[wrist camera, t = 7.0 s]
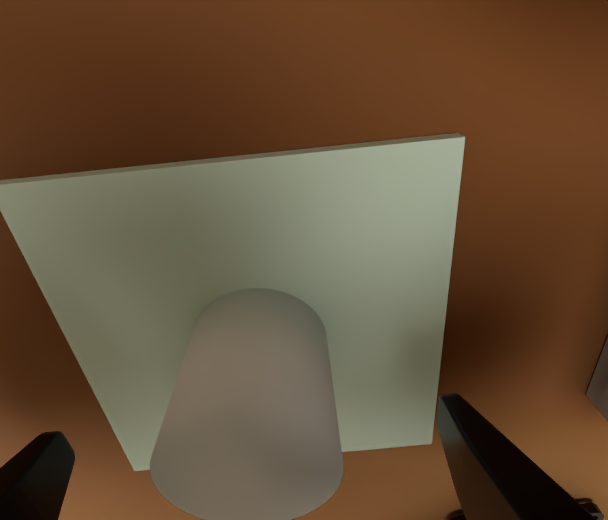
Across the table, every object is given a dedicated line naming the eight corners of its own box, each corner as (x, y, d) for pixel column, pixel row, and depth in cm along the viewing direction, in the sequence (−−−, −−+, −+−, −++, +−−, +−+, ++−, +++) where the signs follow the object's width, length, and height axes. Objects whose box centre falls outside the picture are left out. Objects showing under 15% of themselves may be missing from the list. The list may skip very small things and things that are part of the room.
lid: (423, 420, 15) (477, 574, 11) (142, 446, 15) (85, 608, 11) (449, 128, 10) (581, 200, 5) (14, 173, 10) (-202, 279, 6)
